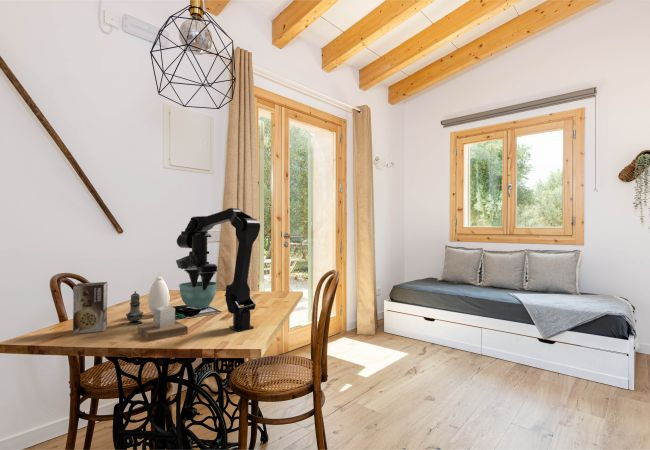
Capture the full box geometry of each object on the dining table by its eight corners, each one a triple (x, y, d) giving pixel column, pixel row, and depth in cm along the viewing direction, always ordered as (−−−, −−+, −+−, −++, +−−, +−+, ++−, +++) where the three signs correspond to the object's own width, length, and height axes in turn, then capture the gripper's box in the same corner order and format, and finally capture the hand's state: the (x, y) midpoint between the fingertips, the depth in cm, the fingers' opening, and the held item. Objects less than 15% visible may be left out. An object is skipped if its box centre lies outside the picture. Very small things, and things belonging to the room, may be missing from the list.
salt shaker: (135, 325, 129) (136, 292, 129) (121, 324, 130) (122, 291, 130) (147, 321, 135) (147, 290, 135) (133, 320, 136) (134, 289, 136)
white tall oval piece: (155, 318, 140) (156, 272, 140) (143, 315, 144) (144, 271, 144) (173, 314, 147) (173, 270, 147) (161, 312, 151) (162, 269, 151)
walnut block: (187, 335, 120) (187, 326, 120) (149, 343, 112) (149, 333, 112) (173, 328, 129) (174, 319, 129) (137, 334, 120) (138, 325, 120)
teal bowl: (173, 307, 161) (173, 283, 161) (207, 302, 171) (208, 280, 171) (186, 313, 149) (187, 287, 149) (222, 308, 159) (223, 284, 159)
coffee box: (107, 326, 127) (108, 281, 128) (103, 331, 121) (104, 284, 122) (77, 329, 124) (78, 282, 124) (71, 334, 118) (72, 285, 118)
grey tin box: (174, 325, 121) (175, 308, 121) (160, 328, 117) (160, 310, 117) (167, 323, 124) (168, 305, 124) (153, 326, 120) (153, 308, 120)
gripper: (169, 248, 141) (168, 287, 141) (189, 250, 127) (188, 294, 127) (196, 247, 149) (196, 285, 148) (218, 249, 135) (217, 290, 135)
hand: (198, 288), depth 139 cm, fingers open, 9 cm apart
